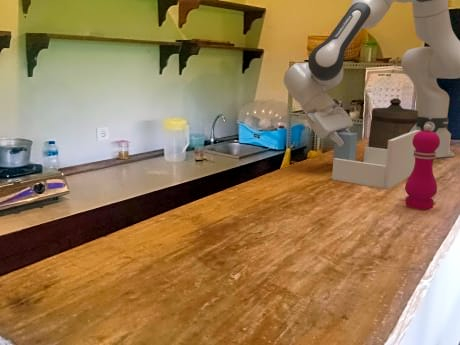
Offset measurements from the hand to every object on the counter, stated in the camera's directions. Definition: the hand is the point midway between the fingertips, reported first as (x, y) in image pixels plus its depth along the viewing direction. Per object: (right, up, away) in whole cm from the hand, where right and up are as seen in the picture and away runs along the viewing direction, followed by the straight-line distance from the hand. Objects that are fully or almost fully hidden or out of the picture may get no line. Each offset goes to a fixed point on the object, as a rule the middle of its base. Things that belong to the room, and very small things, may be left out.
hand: (347, 143), depth 144 cm
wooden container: (+19, -6, +19) cm, 28 cm away
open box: (+7, -11, -3) cm, 13 cm away
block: (-1, -6, +2) cm, 6 cm away
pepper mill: (+11, -17, -28) cm, 34 cm away
